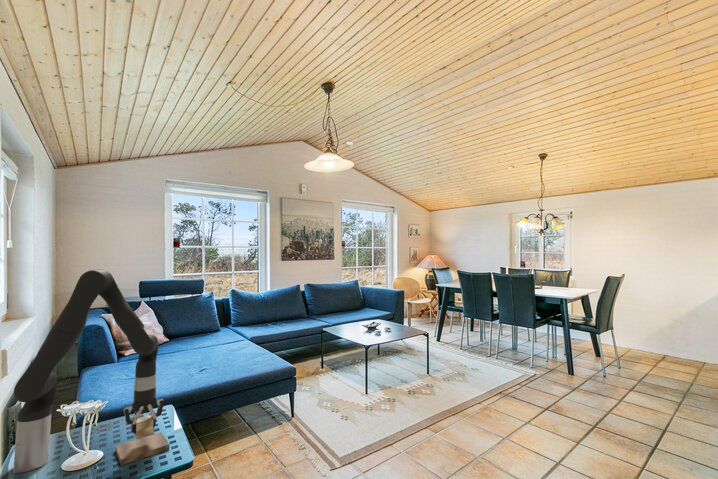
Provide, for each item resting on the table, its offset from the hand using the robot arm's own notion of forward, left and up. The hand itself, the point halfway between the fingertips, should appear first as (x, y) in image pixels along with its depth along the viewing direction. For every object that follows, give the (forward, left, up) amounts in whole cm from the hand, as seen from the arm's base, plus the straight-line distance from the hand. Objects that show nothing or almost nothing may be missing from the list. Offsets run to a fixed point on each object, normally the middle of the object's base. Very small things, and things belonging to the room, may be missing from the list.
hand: (143, 430), depth 136 cm
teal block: (+4, +13, -8) cm, 16 cm away
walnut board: (0, 0, -8) cm, 8 cm away
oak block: (0, 0, -1) cm, 1 cm away
